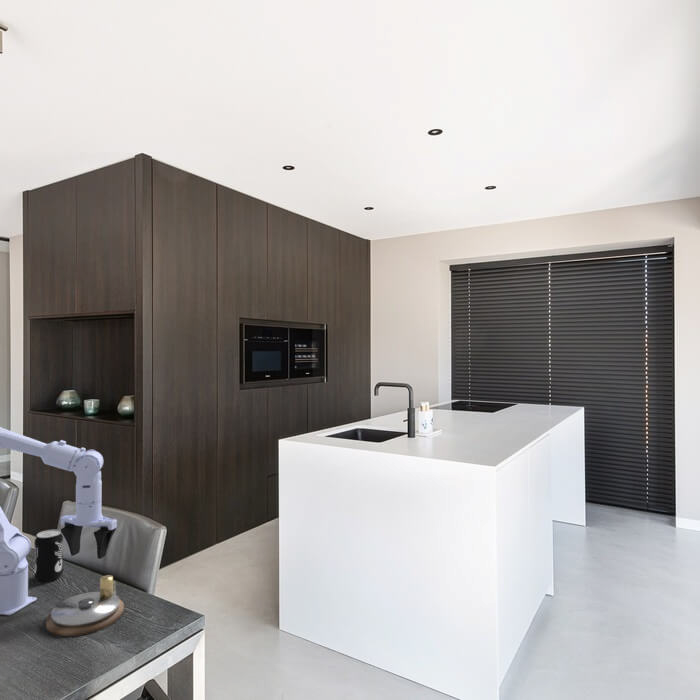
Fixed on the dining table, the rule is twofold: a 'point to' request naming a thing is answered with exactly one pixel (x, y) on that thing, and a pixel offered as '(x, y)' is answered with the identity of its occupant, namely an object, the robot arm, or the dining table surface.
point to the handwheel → (87, 606)
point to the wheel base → (89, 628)
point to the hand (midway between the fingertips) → (88, 555)
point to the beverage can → (48, 555)
